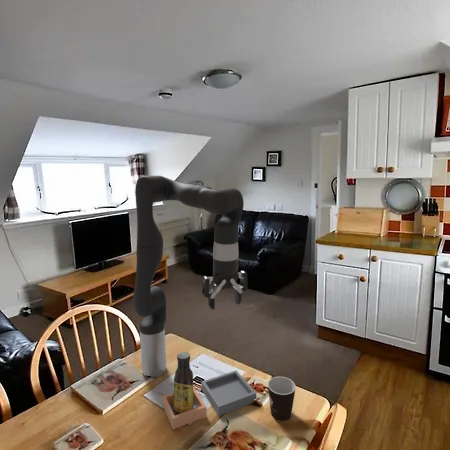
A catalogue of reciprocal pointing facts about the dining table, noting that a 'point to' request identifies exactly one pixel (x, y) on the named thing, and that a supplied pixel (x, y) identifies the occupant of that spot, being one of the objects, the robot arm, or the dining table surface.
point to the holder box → (186, 416)
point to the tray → (228, 392)
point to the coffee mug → (281, 397)
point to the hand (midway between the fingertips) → (224, 305)
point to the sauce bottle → (183, 384)
